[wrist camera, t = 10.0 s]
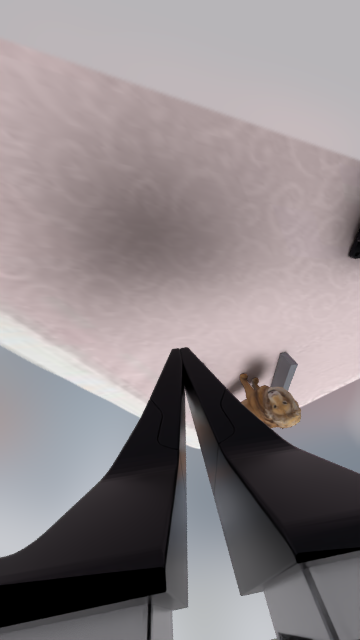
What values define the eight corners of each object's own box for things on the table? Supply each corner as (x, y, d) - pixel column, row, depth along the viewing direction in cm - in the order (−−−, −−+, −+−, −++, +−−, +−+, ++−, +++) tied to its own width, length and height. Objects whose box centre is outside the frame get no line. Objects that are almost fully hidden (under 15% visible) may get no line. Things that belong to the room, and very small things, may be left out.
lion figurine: (254, 353, 27) (293, 409, 19) (276, 366, 29) (319, 421, 21) (195, 407, 32) (207, 468, 24) (217, 415, 34) (234, 473, 26)
